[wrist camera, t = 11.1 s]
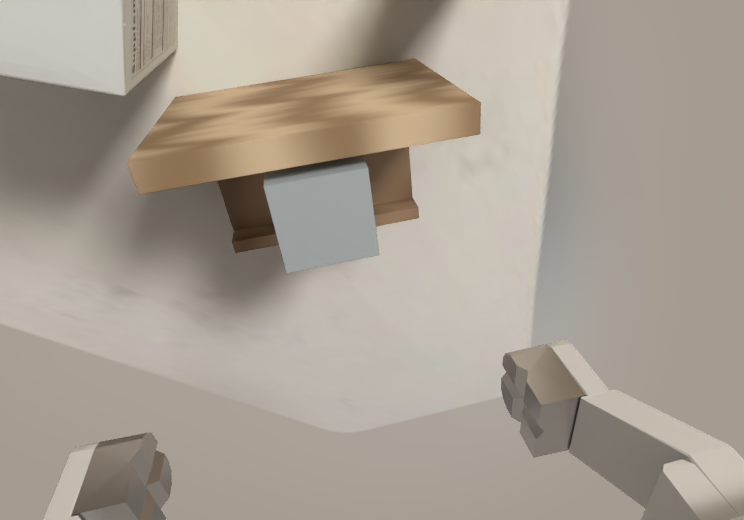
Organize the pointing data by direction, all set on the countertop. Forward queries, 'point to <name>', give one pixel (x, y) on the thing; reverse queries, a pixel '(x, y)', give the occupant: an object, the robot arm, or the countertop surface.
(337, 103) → the wall board
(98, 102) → the countertop surface
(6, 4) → the supplement box
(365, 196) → the cabinet box
